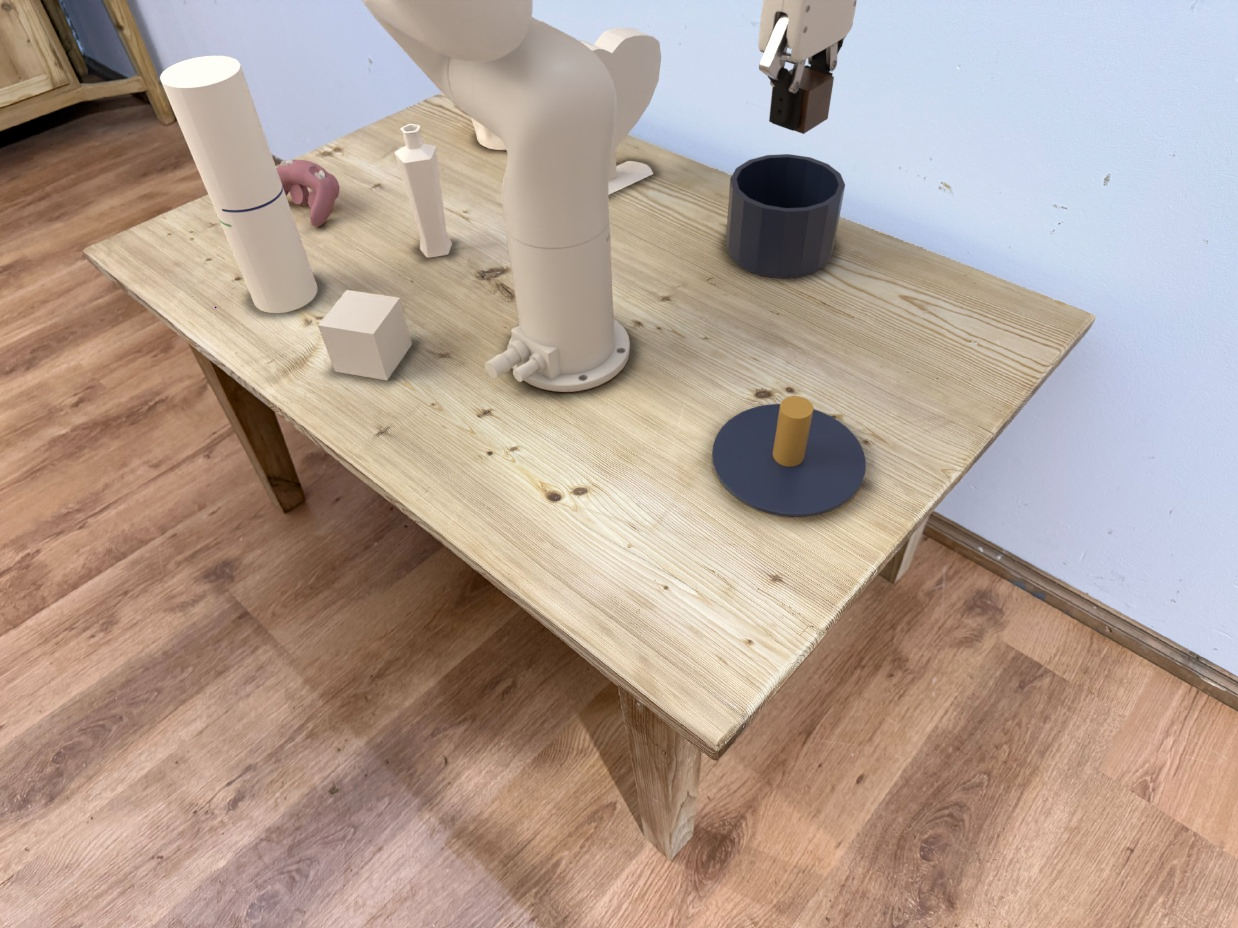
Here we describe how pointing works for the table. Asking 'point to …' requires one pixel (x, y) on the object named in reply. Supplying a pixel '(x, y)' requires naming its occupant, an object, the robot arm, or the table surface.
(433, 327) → the table surface
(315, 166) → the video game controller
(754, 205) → the tin
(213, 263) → the table surface
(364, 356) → the white cube
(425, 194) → the perfume bottle
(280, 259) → the cylindrical container
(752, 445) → the lid
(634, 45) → the heart sculpture
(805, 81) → the block
